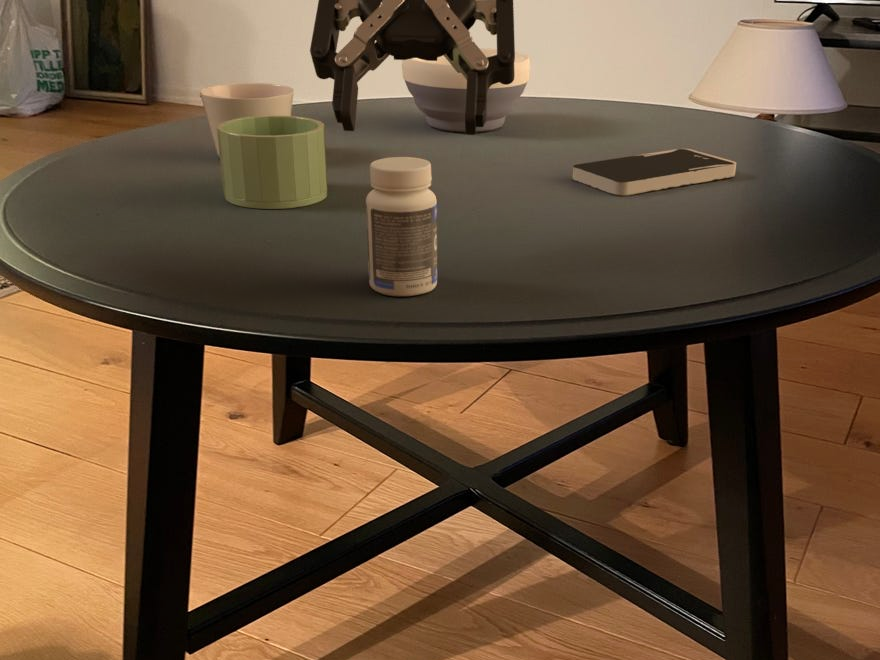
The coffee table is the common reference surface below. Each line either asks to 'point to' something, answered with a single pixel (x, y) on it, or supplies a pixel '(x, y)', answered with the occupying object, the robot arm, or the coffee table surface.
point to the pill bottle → (401, 227)
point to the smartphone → (653, 171)
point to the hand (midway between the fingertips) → (409, 126)
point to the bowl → (460, 92)
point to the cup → (273, 161)
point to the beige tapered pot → (244, 102)
